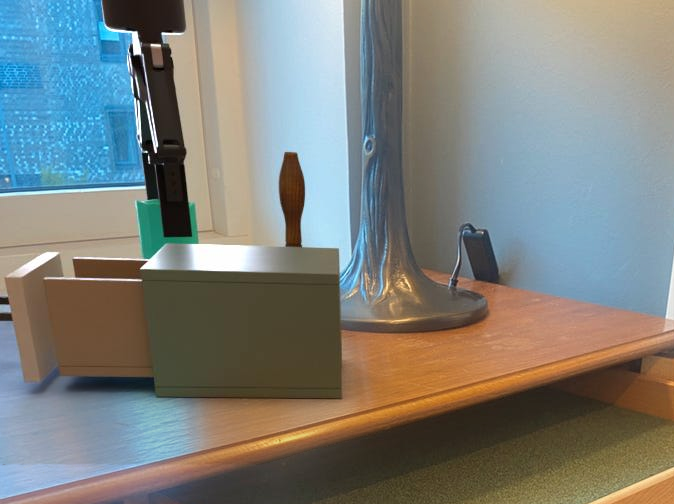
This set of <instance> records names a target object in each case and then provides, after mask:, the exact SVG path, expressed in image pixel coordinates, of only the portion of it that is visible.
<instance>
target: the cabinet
mask: <svg viewBox="0 0 674 504" xmlns="http://www.w3.org/2000/svg"><path fill="white" fill-rule="evenodd" d="M340 270H341V269H340V248H338V247H307V246H306V247H305V246H302V247H285V246H277V245H276V246H275V245H274V246H273V245H271V246H270V245H238V244H237V245H236V244H235V245H234V244H205V243H203V244H202V243H201V244H200V243H199V244H171V243H167V244H166V245H165V246H164V247H162V248H161V249H160V250H159V251H158V252H157V253H156V254H155V255H154V256H153V257H152V258H151V259H150V260H149V261H148V262H147V263H146V264H145V265H144V266H143V267H142V268H141V269H140V274H141V280H142V289H143V297H144V305H145V313H146V321H147V328H148V336H149V344H150V352H151V360H152V368H153V376H154V377H153V382H154V390H155V391H154V392H155V397H156V398H230V399H231V398H237V399H241V398H242V399H243V398H244V399H245V398H247V399H249V398H251V399H343V343H342V339H343V338H342V307H341V306H342V305H341V273H340V272H341V271H340Z"/></svg>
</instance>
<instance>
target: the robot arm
mask: <svg viewBox="0 0 674 504" xmlns="http://www.w3.org/2000/svg"><path fill="white" fill-rule="evenodd" d="M100 3H101V9H102V17H103V18H102V19H103V24H104V26H105V28H106V29H107V30H108V31H111V32H117V33H131V36H132V43H129V44H128V47H127V52H128V54H127V55H126V64H127V68H128V73H129V76H130V82H131V83H130V85H131V90H132V94H133V100H134V110H135V119H136V121H135V122H136V133H137V134H136V139H137V142H138V145H139V146H138V147H139V149H140V150H141V152H140V156H141V162H142V163H141V164H142V171H143V172H142V173H143V180H144V186H145V195H146V201H147V200H153V199H159V205H160V213H161V221H162V229H163V236H164V237H192V229H191V220H190V211H189V202H190V201H189V195H188V185H187V175H186V174H187V173H186V165H185V160H186V158H187V147H186V145H185V139H184V133H183V126H182V122H181V115H180V108H179V103H178V96H177V88H176V84H175V83H176V82H175V65H174V64H175V63H174V60H173V56H172V54H173V53H172V47H170V43H166V42H165V43H164V39H163V35H171V36H172V35H175V36H176V35H177V36H178V35H184V34H185V33H186V31H187V22H186V12H185V11H186V10H185V1H184V0H100Z"/></svg>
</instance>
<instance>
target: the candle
mask: <svg viewBox="0 0 674 504" xmlns="http://www.w3.org/2000/svg"><path fill="white" fill-rule="evenodd" d="M188 202H189V211H190V220H191V229H192V237H164V236H163V229H162V221H161V213H160V205H159V199H153V200H147V199H146V200H139V199H138V200H135V201H134V206H135V212H136V221H137V229H138V237H139V245H140V254H141V259H151V258H152V257H153V256H154V255H155V254H156V253H157V252H158V251H159V250H160V249H161V248H162V247H164V246H165V245H166V244H167V243H171V244H200V242H199V241H200V240H199V232H198V222H197V221H198V220H197V212H196V211H197V210H196V202H190V201H188Z"/></svg>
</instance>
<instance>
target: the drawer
mask: <svg viewBox="0 0 674 504" xmlns="http://www.w3.org/2000/svg"><path fill="white" fill-rule="evenodd" d="M149 260H150V259H142V258H125V257H124V258H121V257H87V256H85V257H84V256H83V257H82V256H74V257H73V258H72V266H73V272H74V277H64V270H63V265H62V259H61V253H60V252H49V251H48V252H44V253H42V254H40V255H39V256H37V257H35V258H34V259H32V260H30V261H29V262H27V263H25V264H24V265H22V266H20V267H18V268H17V269H15V270H13V271H12V272H10V273H9V274H6V275H5V276H4V283H5V288H6V293H7V295H0V306H1V305H2V306H9V308H10V309H9V310H10V311H0V322H12V324H13V329H14V334H15V339H16V345H17V350H18V354H19V359H20V365H21V370H22V374H23V379H24V383H41V382H42V381H43V380H45V378H47V376H48V375H49V374H50V373H51V372H53V370H54V369H55V368H56V367H58V372H59V376H60V377H100V378H103V377H104V378H105V377H106V378H107V377H109V378H121V377H122V378H154V376H153V368H152V360H151V352H150V344H149V336H148V328H147V321H146V313H145V305H144V297H143V289H142V280H141V274H140V269H141V268H142V267H143V266H144V265H145V264H146V263H147V262H148V261H149Z"/></svg>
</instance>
